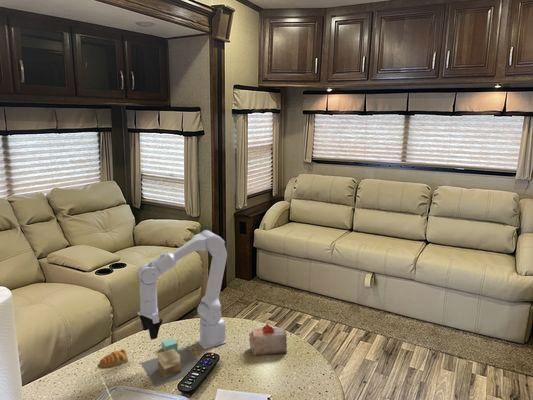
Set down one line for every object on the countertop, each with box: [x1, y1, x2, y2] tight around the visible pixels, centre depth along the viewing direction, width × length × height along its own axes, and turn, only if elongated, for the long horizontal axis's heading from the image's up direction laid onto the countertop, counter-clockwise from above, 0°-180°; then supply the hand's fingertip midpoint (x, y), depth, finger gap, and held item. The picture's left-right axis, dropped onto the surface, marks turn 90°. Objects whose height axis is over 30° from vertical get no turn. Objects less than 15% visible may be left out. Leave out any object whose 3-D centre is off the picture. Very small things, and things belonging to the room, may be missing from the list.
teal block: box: [161, 337, 179, 352], centre depth 152 cm, size 4×4×4 cm
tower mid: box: [158, 349, 180, 369], centre depth 138 cm, size 6×6×3 cm
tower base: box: [158, 361, 181, 378], centre depth 139 cm, size 6×6×3 cm
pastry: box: [98, 348, 129, 368], centre depth 144 cm, size 9×7×4 cm
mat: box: [140, 348, 200, 388], centre depth 142 cm, size 18×16×1 cm
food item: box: [248, 323, 288, 357], centre depth 152 cm, size 14×8×10 cm, turn 101°
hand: (150, 334), depth 145 cm, fingers open, 7 cm apart
